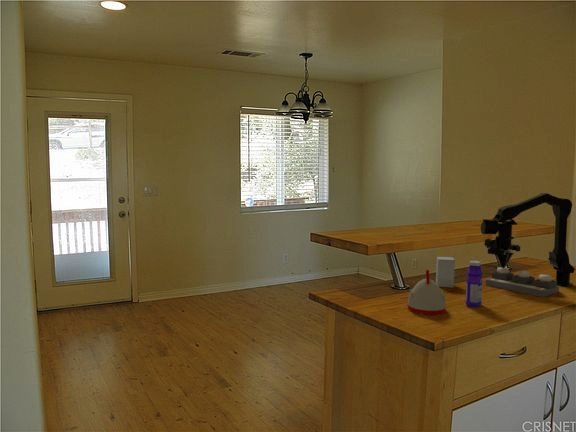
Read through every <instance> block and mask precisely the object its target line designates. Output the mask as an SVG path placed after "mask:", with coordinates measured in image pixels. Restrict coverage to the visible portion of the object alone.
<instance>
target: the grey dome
mask: <svg viewBox="0 0 576 432" xmlns="http://www.w3.org/2000/svg"><path fill="white" fill-rule="evenodd" d="M446 305H447V303H446V297H445V292H444V290H442V289H441V287H439V286H438V285H437V284H436V281H435V280H433V279H430V271H429V269H426V270H425V278H422V279H421V280H420V281H418V282H417V283H416V284H415V285H414V287H413V288H411V289H410V290H409V293H408V301H407V310H409V312H413V313H415V314H420V315H426V316H427V315H428V316H437V315H438V314H439V315H443V314H445V313H446V308H447V306H446Z"/></svg>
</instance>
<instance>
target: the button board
mask: <svg viewBox="0 0 576 432" xmlns="http://www.w3.org/2000/svg"><path fill="white" fill-rule="evenodd" d="M535 278H536V277H535V276H531V275H530V278H528V279H525V278H520V277H517V274H515V273H513V272H510V271H509V274H507V275H504V274H498V273H497V271H493V272H492V273H491V278H486V279H485V286H488V287H494V288H498V289H504V290H506V291H507V290H508V291H513V292H518V293H523V294H527V295H532V296H535V297H537V296H538V297H542V298H545V297H548V296H551V295H554V294H557V293H559V292H560V285H557V281H556V280H554V279H552V282H550V283H547V282H542V281H539V278H536V279H535Z"/></svg>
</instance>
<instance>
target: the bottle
mask: <svg viewBox="0 0 576 432" xmlns="http://www.w3.org/2000/svg"><path fill="white" fill-rule="evenodd" d="M466 274H467V277H466V281H465V282H466V284H465V285H466V289H465V305H466V306H467V307H470V308H479V307H481V305H482V302H483V301H482V296H483V293H482V292H483V281H484V280H483V271H482V262H481V261H480V260H479V261H478V260H470V261H469V267H468V269H467V272H466Z"/></svg>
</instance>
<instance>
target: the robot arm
mask: <svg viewBox="0 0 576 432" xmlns="http://www.w3.org/2000/svg"><path fill="white" fill-rule="evenodd" d="M543 204H547V205H550V206H551V207H552V212H553V215H554V219H555V222H554V248H553V249H552V251H549V252H548V261H549V264H550V265H551V266H552V268H553V269H554V270H555V281H557V286H562V287H569V286H572V285H573V284H574V283H573V282H571V274H575V273H574V272H575V271H576V268H575V267H574V266H573V265H572V264H571V263H570V262H571V261H570V257H569V254H568V251H567V238H568V237H567V236H568V235H567V233H568V231H567V230H568V218H569V216H570V215H571V212H572V209H573V202H572V200H570V199H568V198H563V197H558V196H554V195H552V194H550V193H548V192H547V193H546V192H542V193H539V194H538V195H535V196H533V197H530V198H528V199H525V200H523V201H519V202H518V203H516V204H509V205H504V206H501V207H499V208H498V209H497V213H496V214H495V216H494V217H493V218H492V219H485V218H484V219H483V218H482V223H481V225H480V233H481V234H482V235H496V234H497V236H495V238H494V239H490V238H486V239H484V244H483V245H484V246H485V247H486V249H487V254H488V255H489V254H490V255H493V256H494V255H495V256H497V257H498V260H499V263H500V267H502V268H507V265H508V263H510V262H509V261H510V260H511V258H512V256H514V254H515V253H514V252H512V251H515V252H517V253H518V252H520V251H521V246H520V244H513V243H512V240H514V236H512V235H513V226H517V225H518V223H517V222H516V220H514V218H516V217H517V216H519V215H520V214H521V213H523V212H526V211H528V210H530V209H532V208H533V209H534V208H535V207H537V206H540V205H543Z"/></svg>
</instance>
